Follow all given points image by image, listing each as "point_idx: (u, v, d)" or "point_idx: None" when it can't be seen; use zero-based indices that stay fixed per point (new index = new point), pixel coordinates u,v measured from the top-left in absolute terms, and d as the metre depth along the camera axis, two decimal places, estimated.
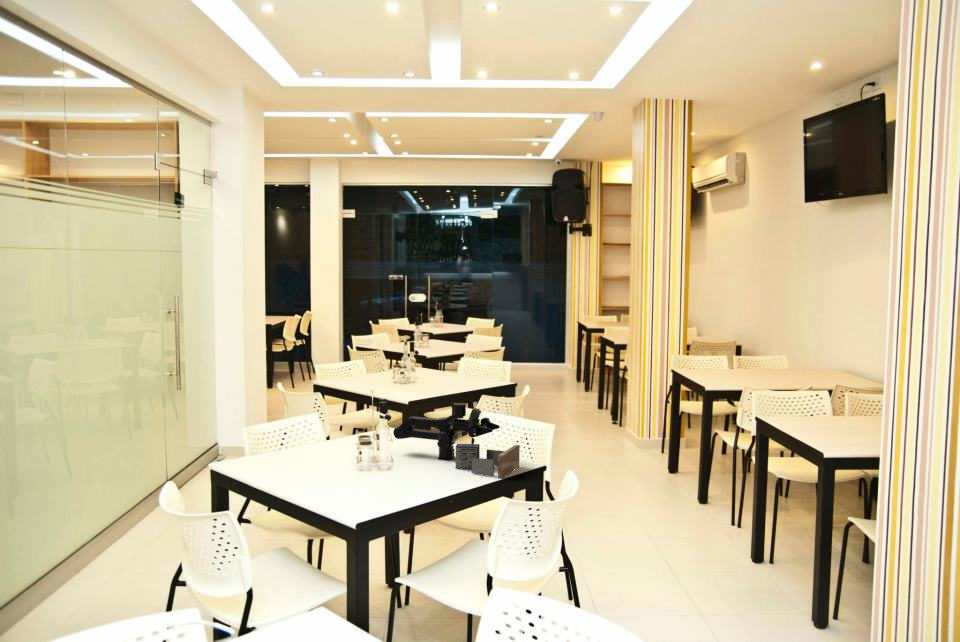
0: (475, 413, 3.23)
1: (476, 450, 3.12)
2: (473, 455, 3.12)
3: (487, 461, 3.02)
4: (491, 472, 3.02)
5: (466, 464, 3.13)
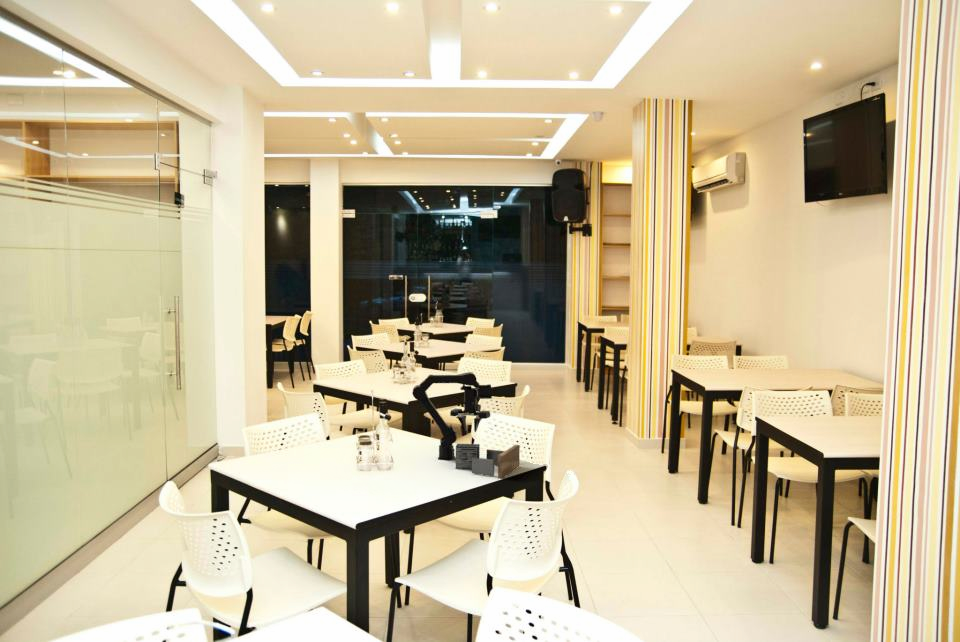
0: (480, 409, 3.37)
1: (476, 450, 3.12)
2: (473, 455, 3.12)
3: (487, 461, 3.02)
4: (491, 472, 3.02)
5: (466, 464, 3.13)
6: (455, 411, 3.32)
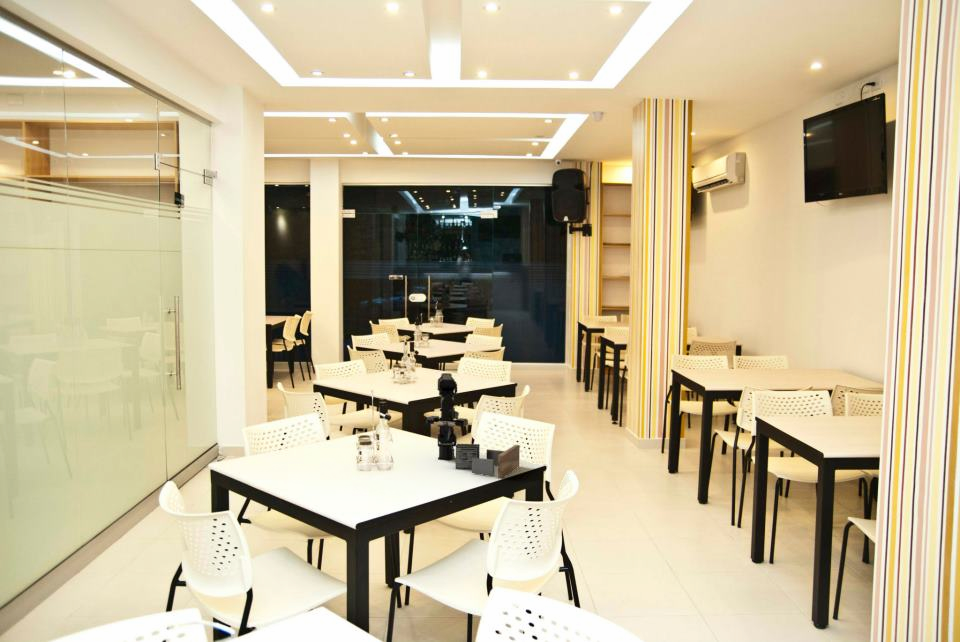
0: (457, 417, 3.24)
1: (476, 450, 3.12)
2: (473, 455, 3.12)
3: (487, 461, 3.02)
4: (491, 472, 3.02)
5: (466, 464, 3.13)
6: (431, 418, 3.19)
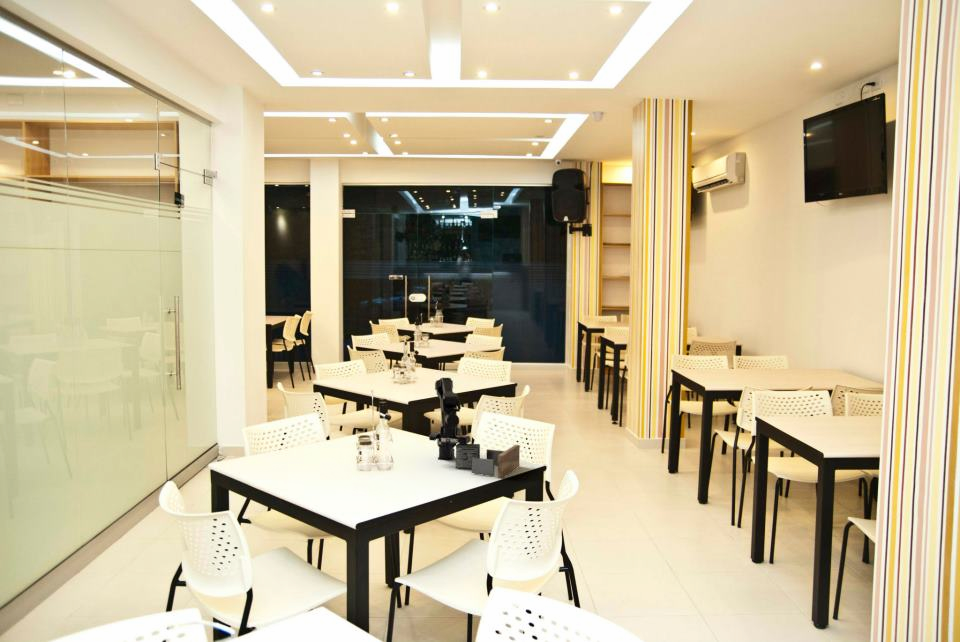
0: (460, 433, 3.24)
1: (476, 450, 3.12)
2: (474, 455, 3.12)
3: (487, 461, 3.02)
4: (491, 472, 3.02)
5: (466, 464, 3.13)
6: (434, 435, 3.19)
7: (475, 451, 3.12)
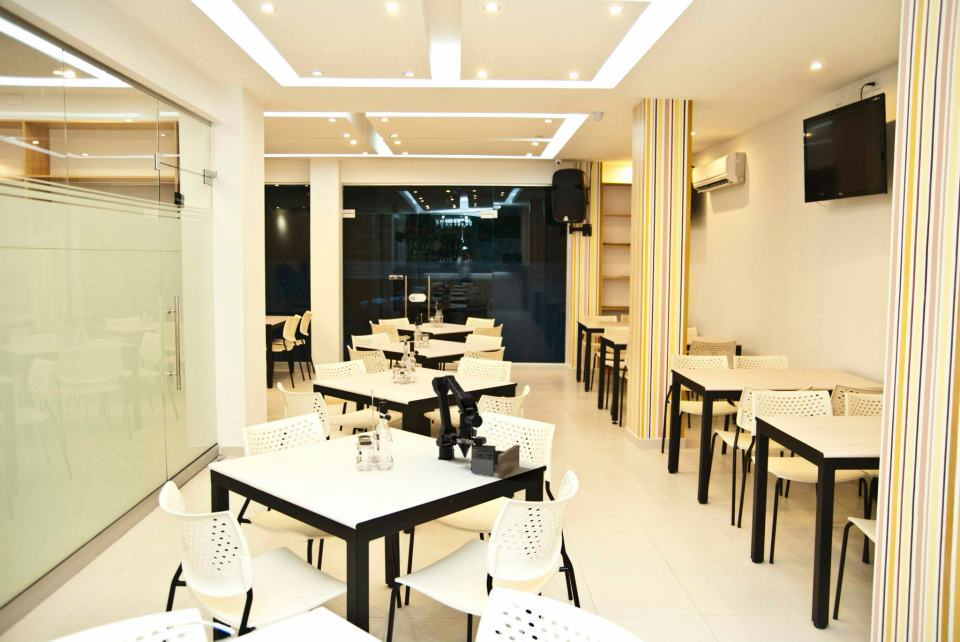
0: None
1: (492, 452, 3.09)
2: (489, 456, 3.09)
3: (487, 461, 3.02)
4: (491, 472, 3.02)
5: None
6: (450, 436, 3.16)
7: (491, 453, 3.09)
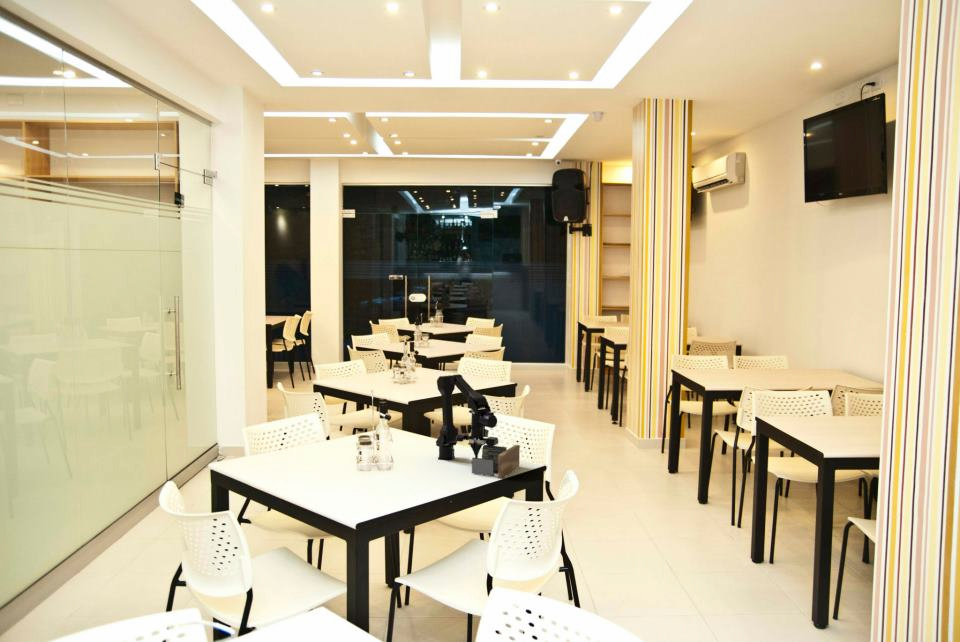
0: (487, 435, 3.19)
1: None
2: None
3: (487, 461, 3.02)
4: (491, 472, 3.02)
5: None
6: (461, 436, 3.14)
7: None
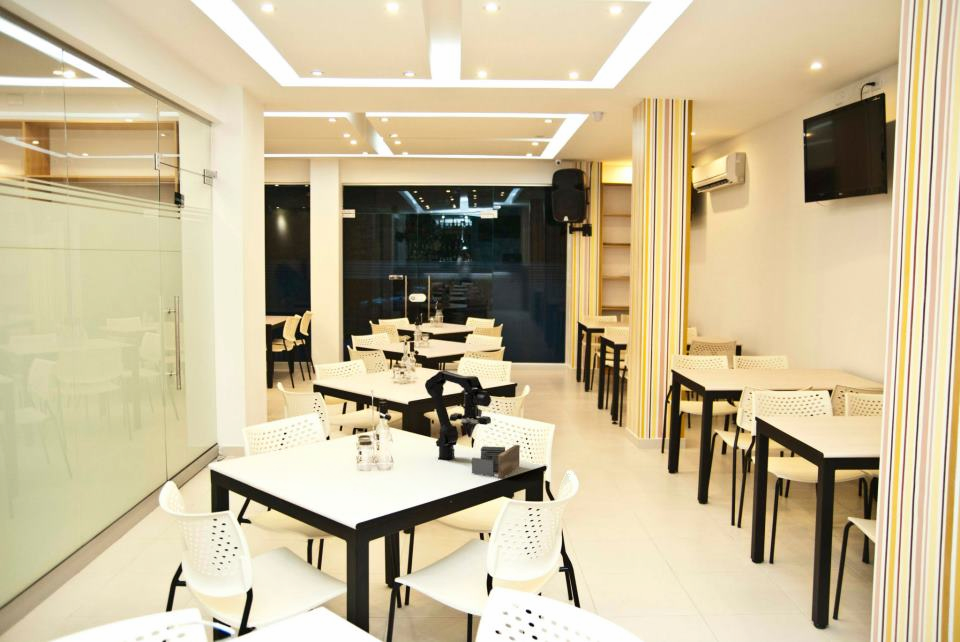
0: (480, 415, 3.26)
1: None
2: None
3: (487, 461, 3.02)
4: (491, 472, 3.02)
5: None
6: (455, 416, 3.21)
7: None
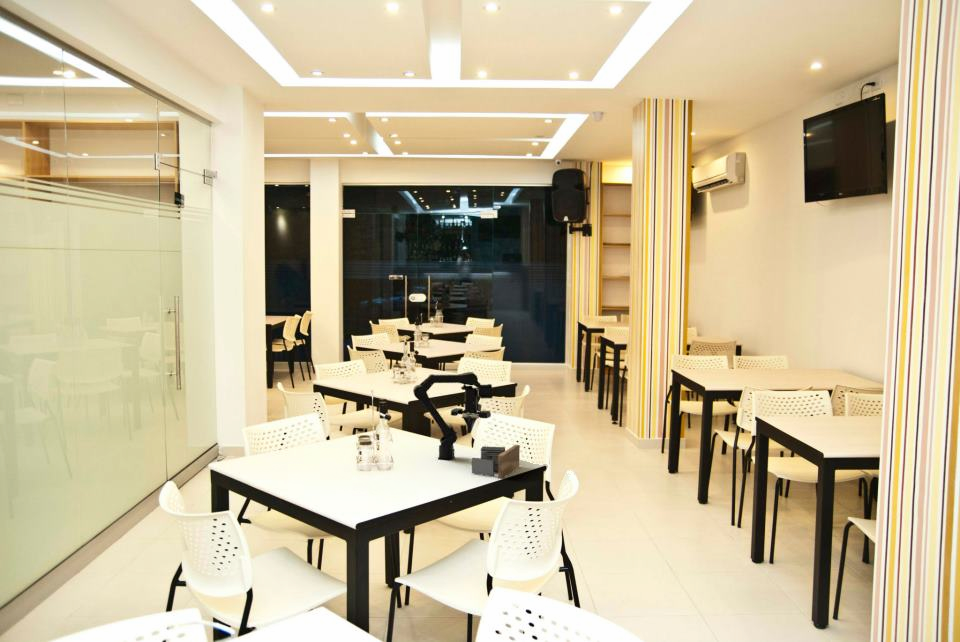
0: (480, 409, 3.38)
1: None
2: None
3: (487, 461, 3.02)
4: (491, 472, 3.02)
5: None
6: (456, 411, 3.33)
7: None
